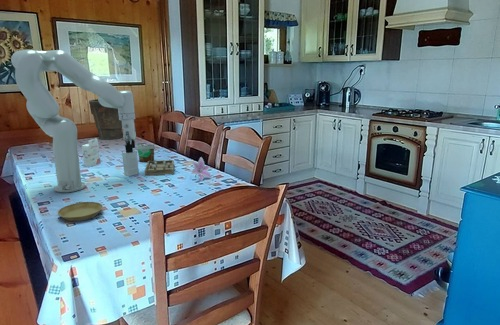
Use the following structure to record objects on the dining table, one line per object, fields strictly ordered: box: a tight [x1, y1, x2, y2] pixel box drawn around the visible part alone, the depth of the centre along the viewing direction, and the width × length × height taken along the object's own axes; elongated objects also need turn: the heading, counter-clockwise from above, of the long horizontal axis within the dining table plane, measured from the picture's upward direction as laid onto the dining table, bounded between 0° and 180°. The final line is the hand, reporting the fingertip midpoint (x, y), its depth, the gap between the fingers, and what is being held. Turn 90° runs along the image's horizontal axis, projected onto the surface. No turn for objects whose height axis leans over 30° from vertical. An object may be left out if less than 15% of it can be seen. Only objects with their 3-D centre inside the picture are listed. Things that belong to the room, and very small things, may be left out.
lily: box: [190, 156, 213, 182], centre depth 171 cm, size 12×12×10 cm
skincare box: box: [121, 150, 140, 177], centre depth 176 cm, size 6×4×12 cm
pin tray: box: [144, 159, 175, 177], centre depth 186 cm, size 20×14×4 cm
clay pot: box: [88, 98, 123, 141], centre depth 275 cm, size 25×29×30 cm
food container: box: [135, 142, 156, 163], centre depth 203 cm, size 12×6×10 cm, turn 62°
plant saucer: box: [57, 201, 104, 222], centre depth 126 cm, size 15×15×3 cm
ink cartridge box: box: [81, 137, 102, 167], centre depth 195 cm, size 9×5×15 cm, turn 168°
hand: (130, 150), depth 175 cm, fingers open, 9 cm apart
